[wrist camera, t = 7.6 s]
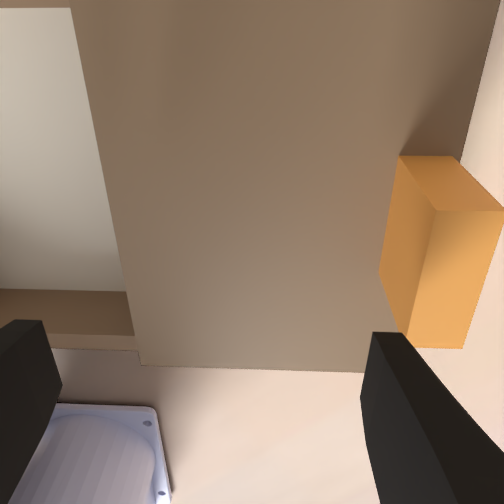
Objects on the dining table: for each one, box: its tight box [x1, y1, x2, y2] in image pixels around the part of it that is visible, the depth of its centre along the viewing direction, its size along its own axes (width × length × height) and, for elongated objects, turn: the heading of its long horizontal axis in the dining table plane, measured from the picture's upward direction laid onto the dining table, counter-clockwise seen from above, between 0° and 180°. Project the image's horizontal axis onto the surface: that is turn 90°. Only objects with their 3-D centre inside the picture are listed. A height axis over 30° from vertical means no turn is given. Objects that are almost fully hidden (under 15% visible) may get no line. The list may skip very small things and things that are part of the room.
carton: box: [0, 0, 138, 351], centre depth 16 cm, size 13×10×4 cm
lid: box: [69, 0, 504, 373], centre depth 12 cm, size 13×10×4 cm
